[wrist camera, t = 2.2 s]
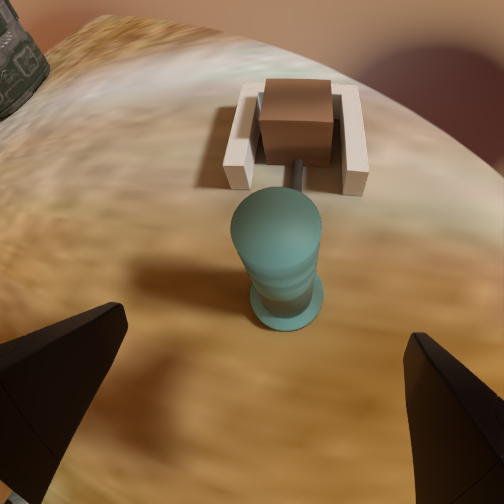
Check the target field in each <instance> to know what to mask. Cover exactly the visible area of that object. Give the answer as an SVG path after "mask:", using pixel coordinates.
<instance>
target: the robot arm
mask: <svg viewBox="0 0 504 504" xmlns="http://www.w3.org/2000/svg"><path fill="white" fill-rule="evenodd" d="M127 330H128V322H127V318H126V314H125V310H124V307H123V305H122V304H121V303H116V302H109V303H106V304H104V305H101V306H98V307H96V308H93V309H91V310H88V311H86V312H83V313H80V314H78V315H75V316H73V317H70V318H68V319H65V320H62V321H60V322H57V323H55V324H52V325H50V326H47V327H45V328H42V329H39V330H37V331H34V332H32V333H29V334H27V335H26V336H21V337H19V338H16V339H14V340H11V341H8V342H6V343H3V344H0V504H12V502H11V501H10V500H9V499H8V497H9V495H10V494H11V492H12V491H14V492H15V493H16V494H17V495H19V496H20V497H21V498H22V499H24V500H25V501H26V502H28V503H29V504H41V503H42V501H43V498H44V496H45V494H46V492H47V490H48V487H49V485H50V483H51V481H52V479H53V477H54V475H55V472H56V470H57V468H58V466H59V464H60V461H61V460H62V458H63V456H64V454H65V452H66V450H67V448H68V446H69V444H70V442H71V440H72V438H73V436H74V434H75V432H76V430H77V428H78V426H79V424H80V422H81V420H82V418H83V417H84V415H85V413H86V411H87V409H88V407H89V405H90V404H91V402H92V400H93V398H94V396H95V394H96V393H97V391H98V389H99V387H100V385H101V384H102V382H103V380H104V378H105V376H106V375H107V373H108V371H109V369H110V367H111V366H112V363H113V361H114V359H115V357H116V355H117V352H118V350H119V348H120V346H121V343H122V341H123V339H124V337H125V335H126V332H127ZM403 364H404V378H405V397H406V408H407V415H408V422H409V430H410V438H411V446H412V455H413V466H414V478H415V493H416V504H504V400H503V399H502V398H500V397H499V396H498V397H497V394H496V393H495V392H494V391H493V390H491V389H490V388H489V387H488V386H487V385H486V384H485V383H484V382H482V381H481V380H480V379H479V378H478V377H477V376H476V375H474V374H473V373H472V372H471V371H470V370H469V369H468V368H466V367H465V366H464V365H463V364H462V363H461V362H459V361H458V360H457V359H456V358H455V357H454V356H452V355H451V354H450V353H449V352H448V351H447V350H445V349H444V348H443V347H442V346H441V345H439V344H438V343H437V342H436V341H435V340H433V339H432V338H431V337H430V336H429V335H427V334H426V333H424V332H413V333H412V334H411V336H410V338H409V341H408V344H407V347H406V350H405V353H404V357H403Z"/></svg>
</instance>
